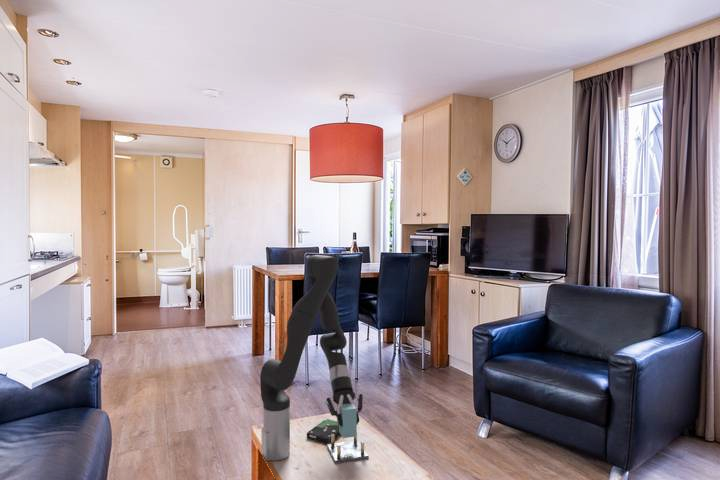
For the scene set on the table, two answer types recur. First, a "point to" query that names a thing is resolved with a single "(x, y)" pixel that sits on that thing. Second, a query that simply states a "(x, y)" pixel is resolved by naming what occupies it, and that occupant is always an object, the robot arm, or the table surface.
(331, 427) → the disk drive
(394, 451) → the table surface
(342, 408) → the teal block
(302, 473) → the table surface
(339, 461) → the chassis plate
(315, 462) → the table surface
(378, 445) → the table surface
